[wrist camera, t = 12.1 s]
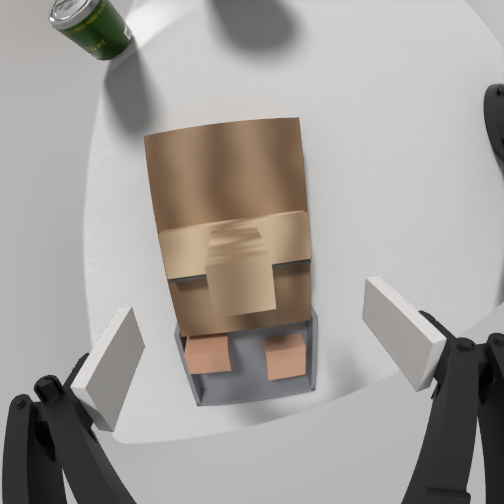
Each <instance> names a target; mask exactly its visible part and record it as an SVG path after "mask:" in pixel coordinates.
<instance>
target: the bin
mask: <svg viewBox="0 0 504 504" xmlns="http://www.w3.org/2000/svg"><path fill="white" fill-rule="evenodd" d="M317 326H318V316H317V314H316V313H315V311H314V309H313V307H312V306H311V320H307V321H301V322H295V323H289V324H283V325H276V326H270V327H263V328H256V329H248V330H241V331H233V332H228V336H229V342H230V352H231V371H222V372H211V373H199V374H190V373H189V370H188V366H187V363H186V360H185V356H184V353H185V347H186V342H187V336H184V337H182V336H181V333H180V329H179V325H178V322H177V325H176V329H175V333H174V337H175V340H176V343H177V347H178V350H179V353H180V356H181V360H182V363H183V366H184V369H185V372H186V375H187V378H188V381H189V384H190V387H191V390H192V393H193V395H194V398H195V401H196V404H197V406H209V405H222V404H232V403H241V402H250V401H257V400H264V399H271V398H277V397H283V396H289V395H295V394H300V393H305V392H310V391H314V390H315V384H316V363H317ZM296 333H300V334H301V336H302V339H303V341H304V343H305V346H306V364H305V374H304V375H298V376H293V377H287V378H281V379H275V380H268V376H267V371H266V366H265V356H264V346H263V339H264V338H271V337H278V336H284V335H290V334H296Z"/></svg>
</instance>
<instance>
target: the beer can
mask: <svg viewBox="0 0 504 504" xmlns="http://www.w3.org/2000/svg"><path fill="white" fill-rule="evenodd" d="M48 19H49V22H51V24H52V26H53V28H55V29H56V30H58V31H59V32H61V33H62V34H64V35H65V36H66V37H68V38H69V39H71V40H72V41H73V42H75V43H76V44H78V45H79V46H80V47H82V48H83V49H84V50H86V51H87V52H88V53H90V54H91V55H93V56H94V57H95V58H97V59H98V60H111V59H114V58H117V57H119V56H120V55H121V54H123V53H124V52H125V51H126V50H127V48H128V47H129V45H130V42H131V38H132V32H131V30H130V28H129V27H128V25H127V24H126V23H125V21H124V20H123V19H122V17H121V16H120V15H119V13H118V12H117V11H116V9H115V8H114V7H113V5H112V4H111V3H110V1H109V0H55V1H54V2H53V4H52V5H51V7H50V9H49V12H48Z"/></svg>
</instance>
